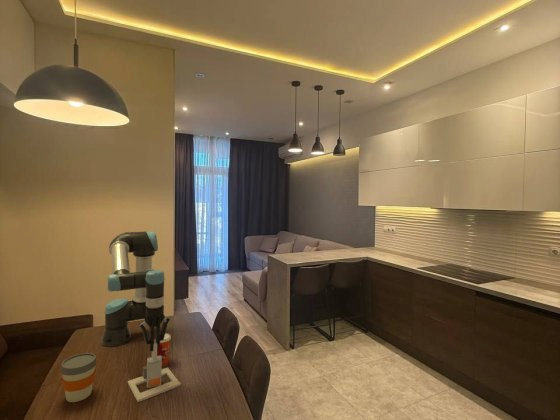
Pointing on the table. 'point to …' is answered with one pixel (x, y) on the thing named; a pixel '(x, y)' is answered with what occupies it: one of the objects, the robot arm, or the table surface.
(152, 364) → the skincare box
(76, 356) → the reusable coffee cup
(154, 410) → the table surface
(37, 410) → the table surface
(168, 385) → the socket board
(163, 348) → the paper cup
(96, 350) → the table surface
